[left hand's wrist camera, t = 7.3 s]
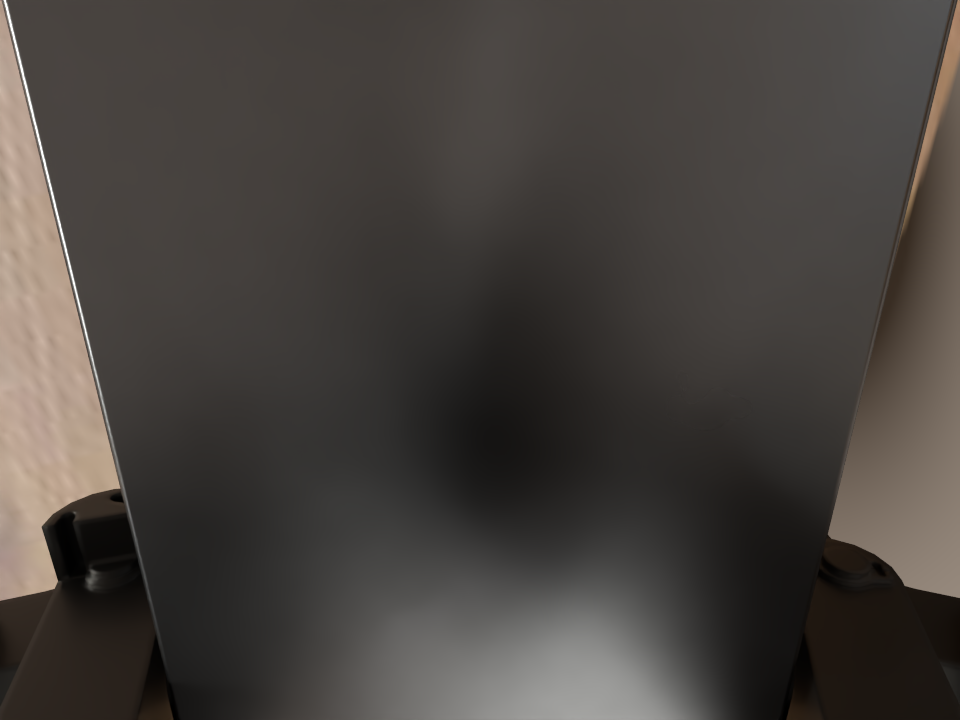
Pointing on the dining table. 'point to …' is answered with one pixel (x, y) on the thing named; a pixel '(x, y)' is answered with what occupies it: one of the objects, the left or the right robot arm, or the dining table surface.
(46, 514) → the dining table surface
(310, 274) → the bar
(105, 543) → the left robot arm
